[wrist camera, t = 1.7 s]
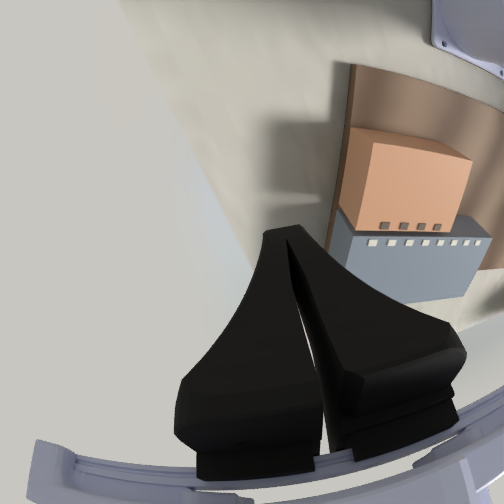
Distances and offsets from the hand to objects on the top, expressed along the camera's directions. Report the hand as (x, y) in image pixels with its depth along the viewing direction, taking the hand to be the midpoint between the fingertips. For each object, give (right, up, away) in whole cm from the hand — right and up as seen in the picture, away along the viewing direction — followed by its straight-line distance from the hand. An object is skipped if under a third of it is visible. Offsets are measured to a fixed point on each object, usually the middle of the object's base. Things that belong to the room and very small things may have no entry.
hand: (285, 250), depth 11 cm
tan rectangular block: (+9, +6, +8) cm, 13 cm away
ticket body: (+12, 0, +12) cm, 17 cm away
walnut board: (+19, +5, +10) cm, 22 cm away
